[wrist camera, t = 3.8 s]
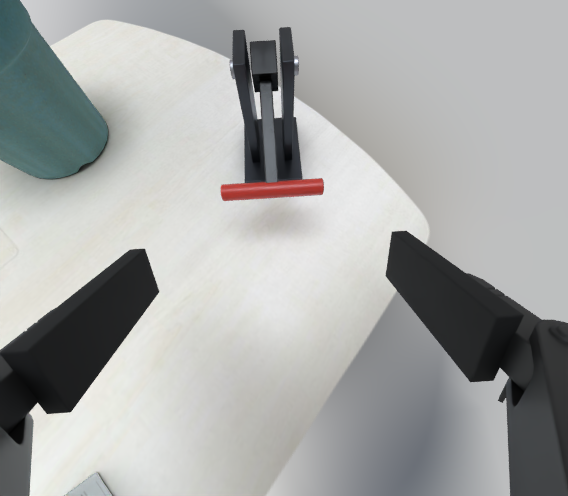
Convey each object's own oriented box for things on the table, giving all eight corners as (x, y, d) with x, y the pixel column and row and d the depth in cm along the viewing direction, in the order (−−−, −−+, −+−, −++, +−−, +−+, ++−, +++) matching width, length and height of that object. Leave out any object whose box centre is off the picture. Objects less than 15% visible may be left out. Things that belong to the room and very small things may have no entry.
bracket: (301, 184, 30) (310, 85, 18) (246, 187, 30) (218, 90, 18) (295, 124, 34) (299, 6, 22) (245, 127, 34) (221, 10, 22)
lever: (320, 197, 23) (325, 191, 20) (226, 203, 23) (219, 198, 20) (311, 59, 23) (315, 37, 20) (217, 65, 23) (209, 43, 20)
